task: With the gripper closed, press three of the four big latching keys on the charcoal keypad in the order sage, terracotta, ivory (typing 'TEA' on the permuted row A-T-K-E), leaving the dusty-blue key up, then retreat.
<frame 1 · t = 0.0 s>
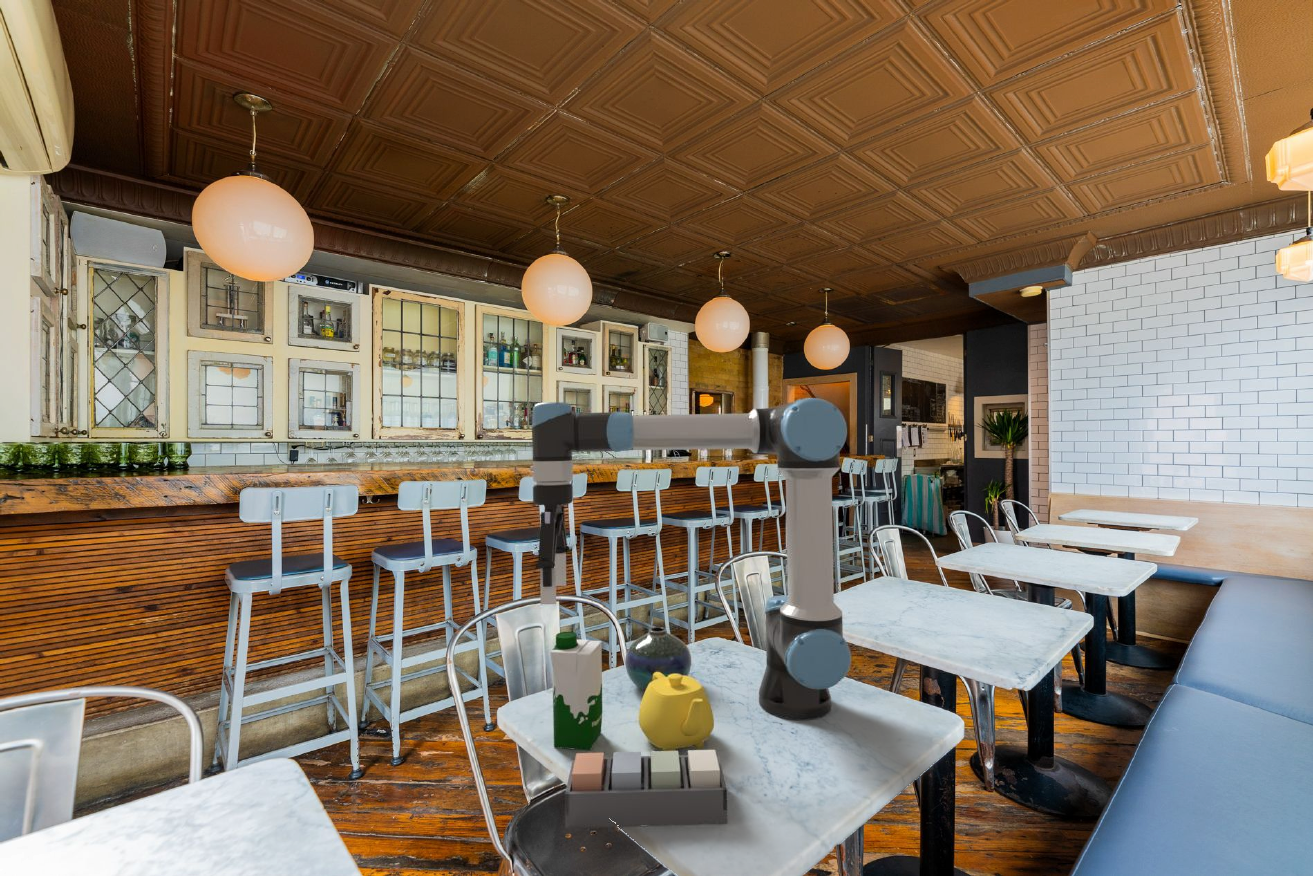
hand: (554, 594, 113), 28 cm above the table, fingers open, 13 cm apart
keypad base: (646, 805, 92), on the table
key A: (703, 769, 92), point 5 cm above the table, slide at 0.0 cm
key K: (626, 771, 92), point 5 cm above the table, slide at 0.0 cm
vase: (658, 687, 137), on the table
key T: (665, 770, 92), point 5 cm above the table, slide at 0.0 cm
key E: (588, 772, 92), point 5 cm above the table, slide at 0.0 cm
teapot: (678, 744, 111), on the table
milk carton: (578, 741, 113), on the table
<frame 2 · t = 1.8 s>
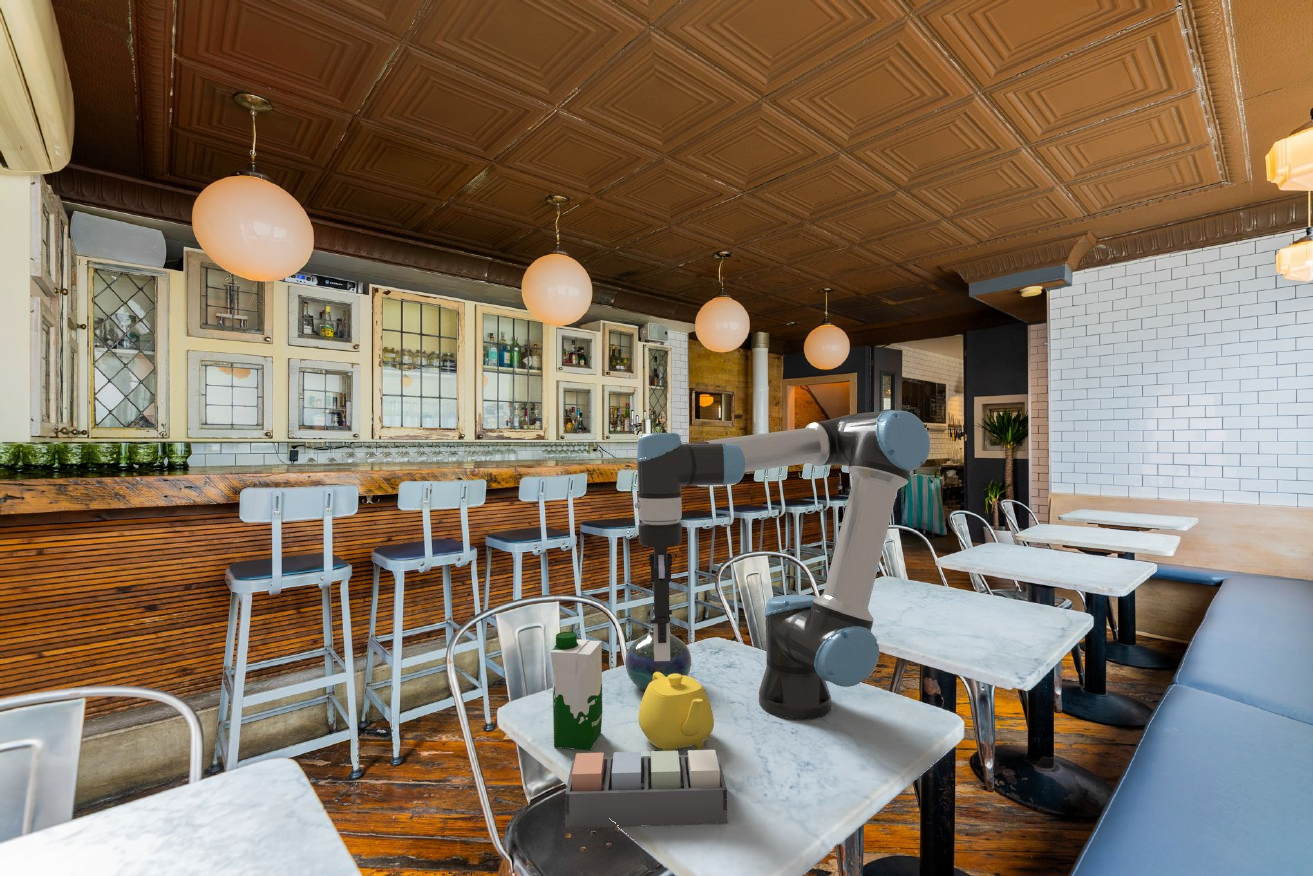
hand: (661, 656, 102), 20 cm above the table, fingers open, 3 cm apart
nothing on the table moved.
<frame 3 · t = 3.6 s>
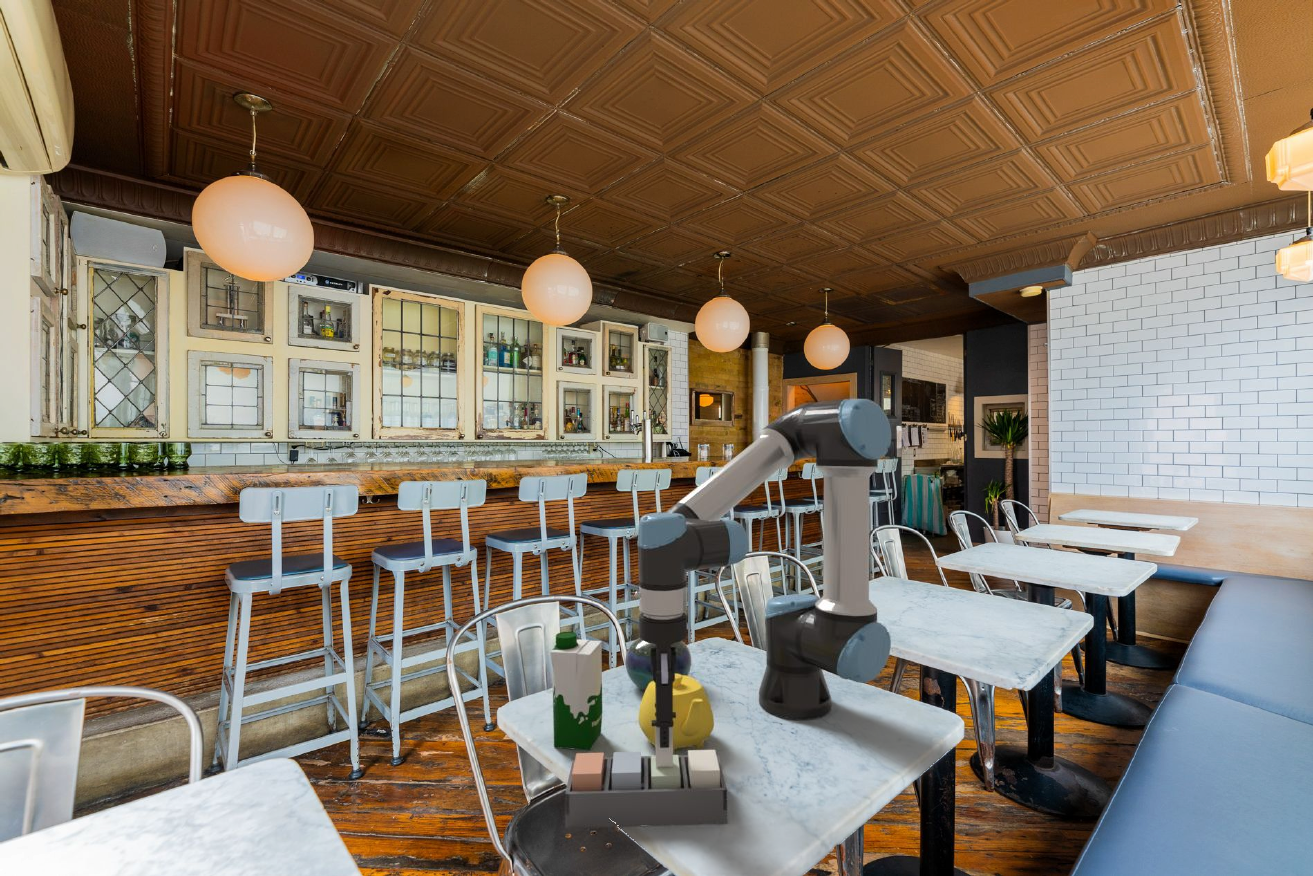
hand: (664, 763, 92), 6 cm above the table, fingers closed
key T: (665, 775, 92), point 5 cm above the table, slide at 0.7 cm, touching gripper
everything else where it was.
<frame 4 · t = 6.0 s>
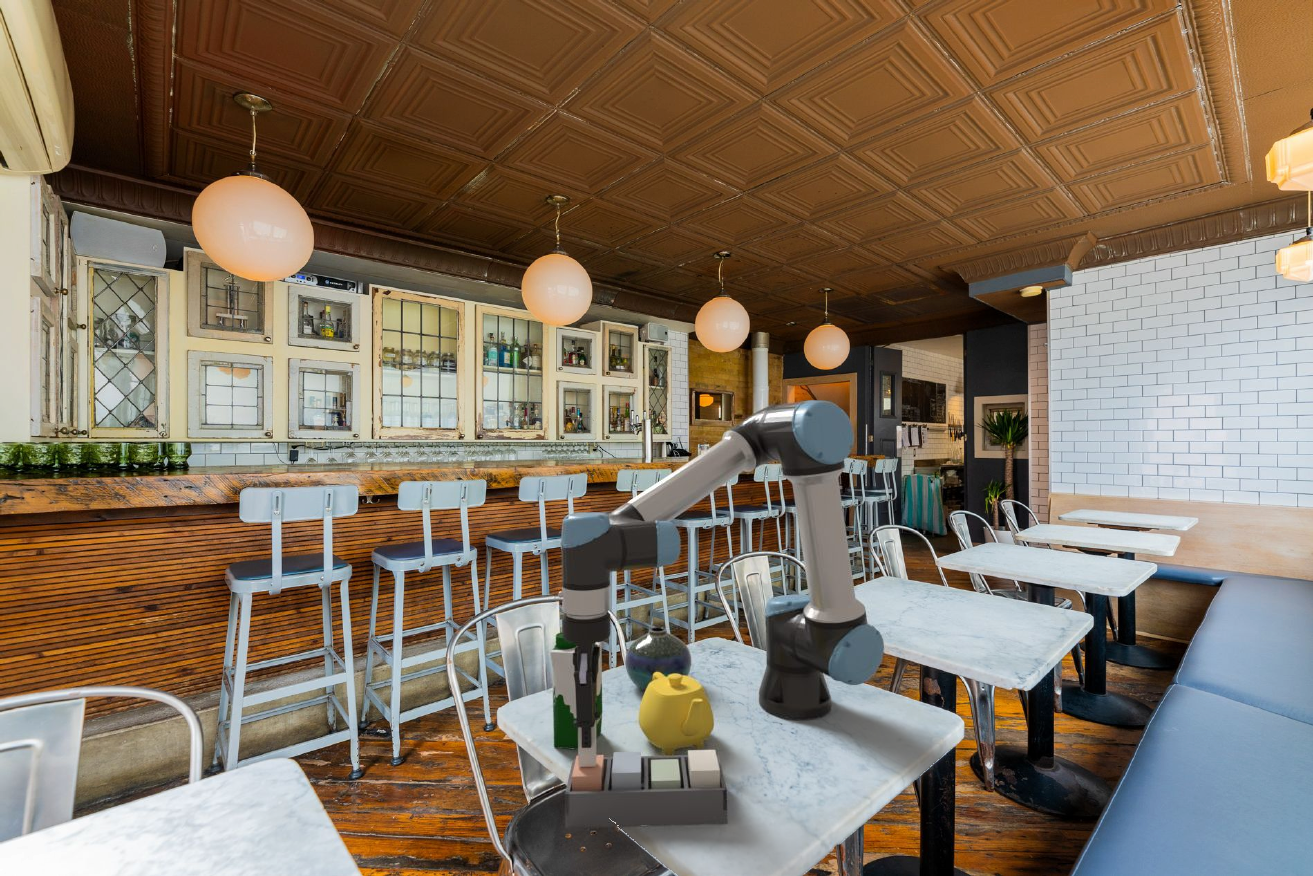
hand: (587, 764, 92), 7 cm above the table, fingers closed
key T: (665, 779, 92), point 4 cm above the table, slide at 1.4 cm
key E: (588, 775, 92), point 5 cm above the table, slide at 0.4 cm, touching gripper
everything else where it was.
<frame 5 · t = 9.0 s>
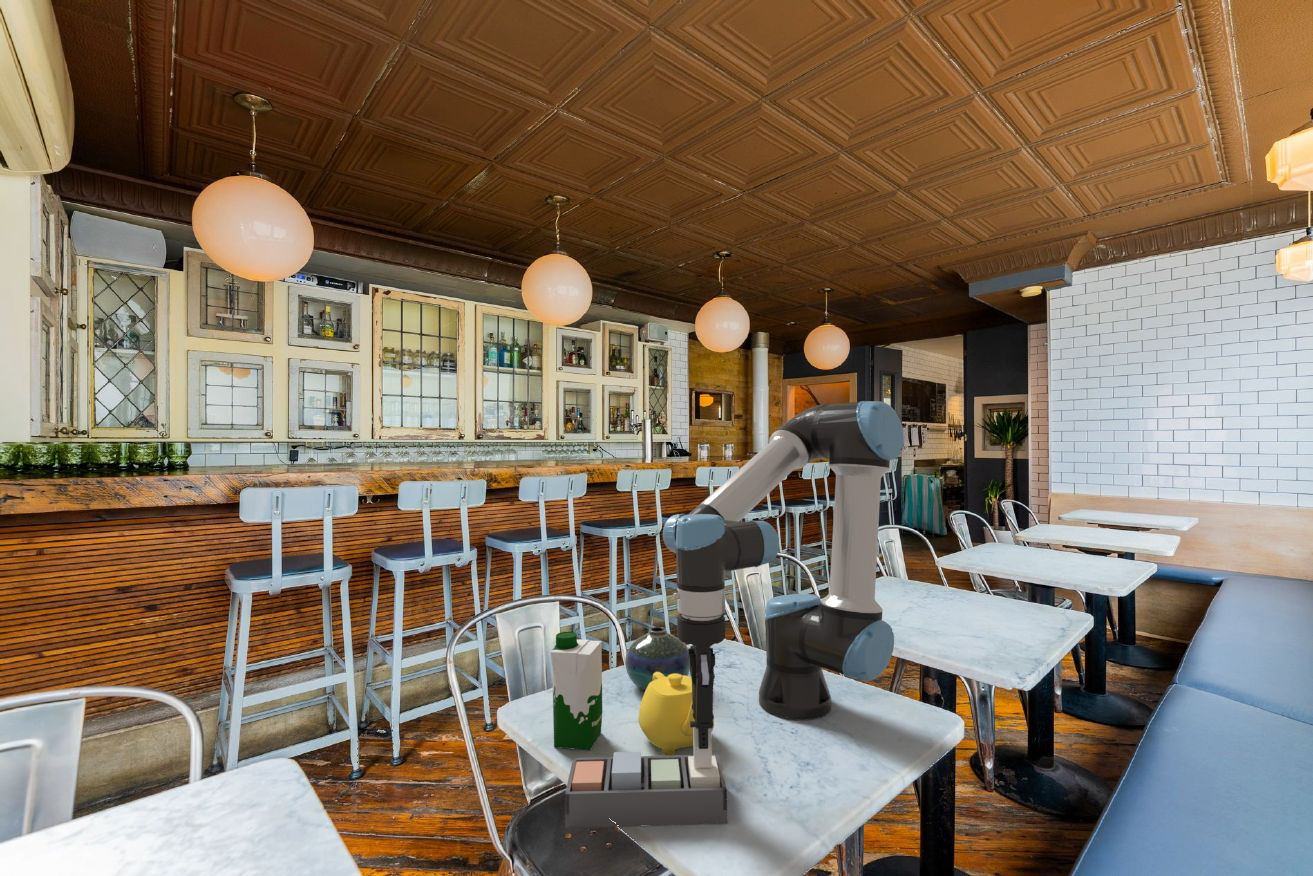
hand: (702, 765, 92), 6 cm above the table, fingers closed
key A: (703, 775, 92), point 4 cm above the table, slide at 1.0 cm, touching gripper
key E: (588, 781, 92), point 4 cm above the table, slide at 1.3 cm
everything else where it was.
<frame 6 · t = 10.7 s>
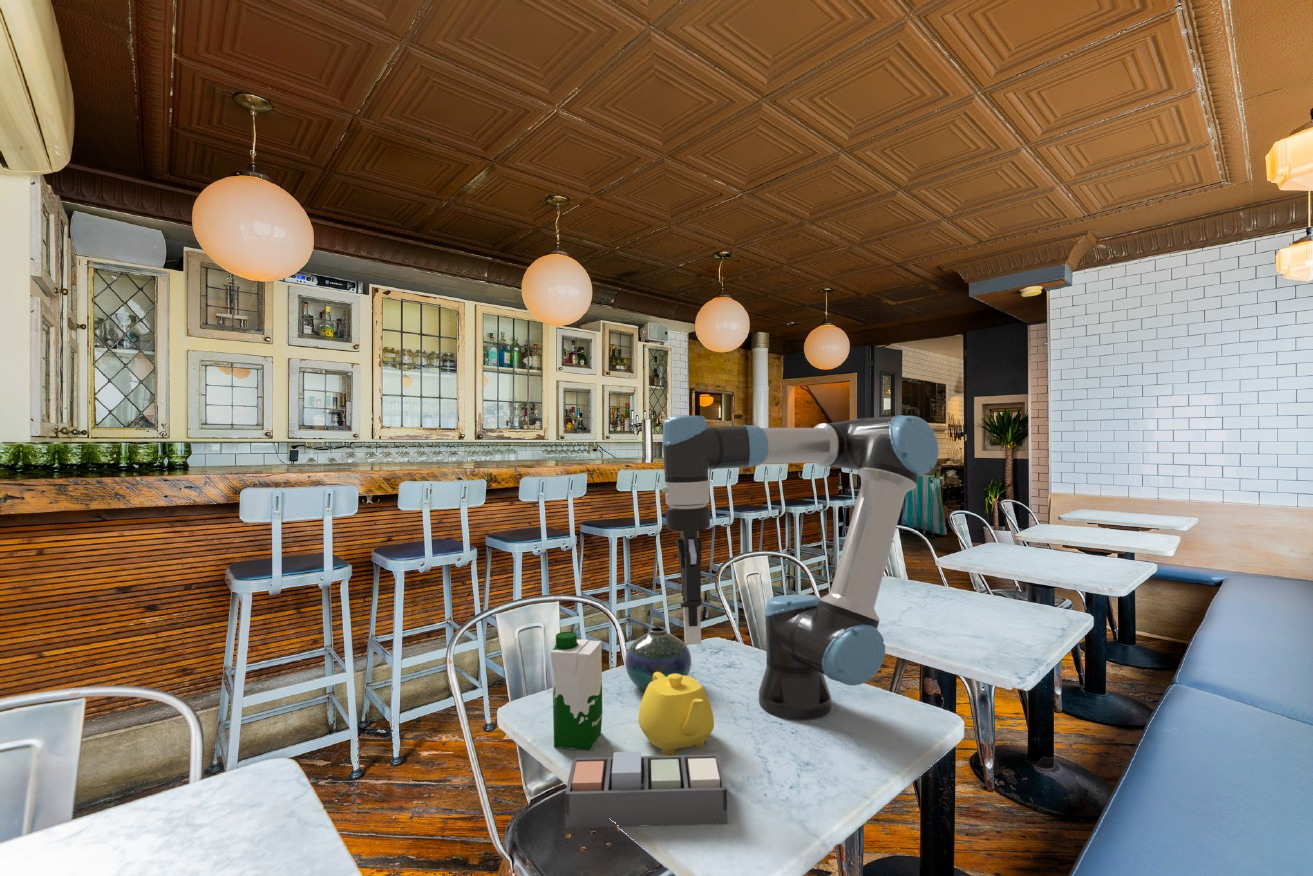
hand: (692, 642, 101), 22 cm above the table, fingers closed
key A: (703, 778, 92), point 4 cm above the table, slide at 1.4 cm
everything else where it was.
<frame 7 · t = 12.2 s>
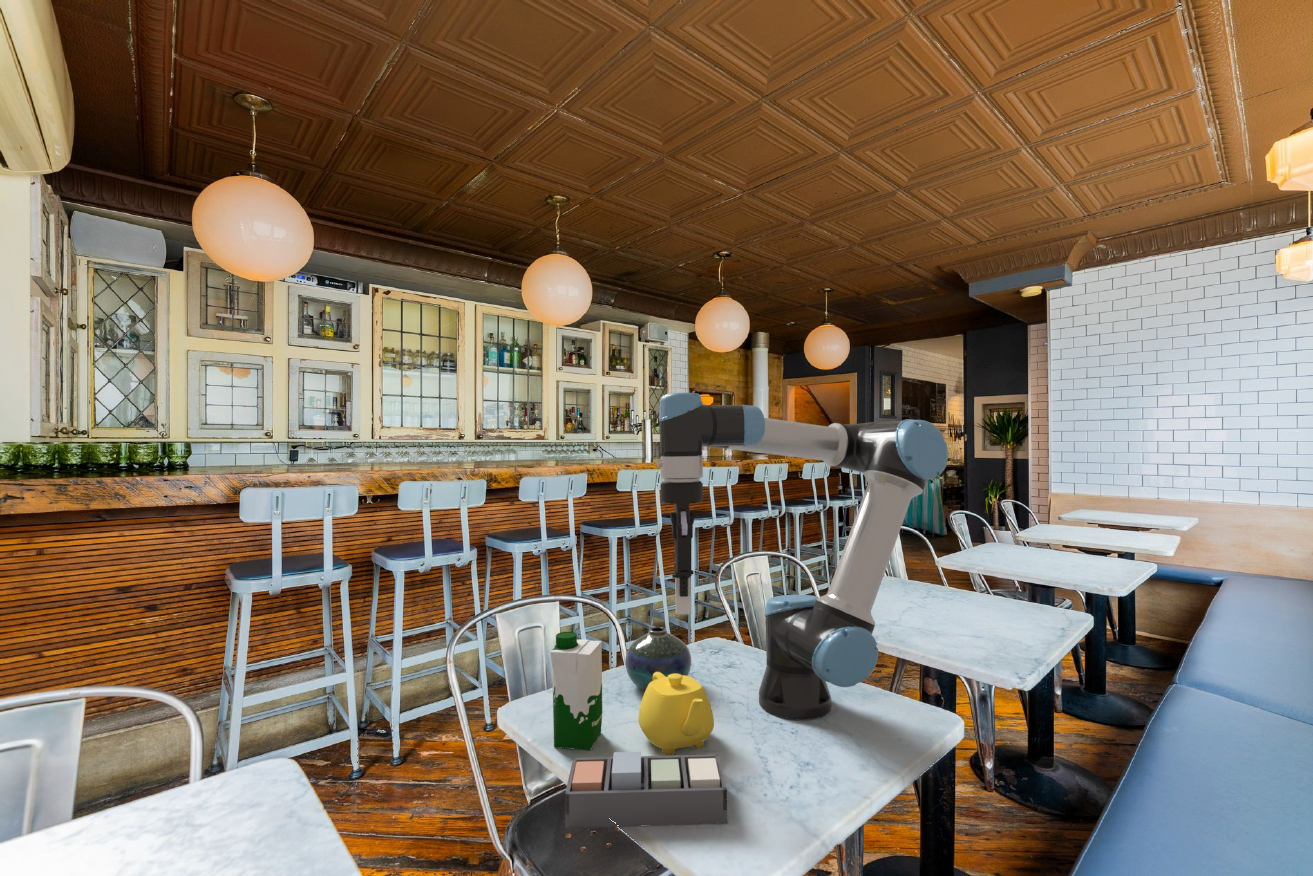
hand: (683, 613, 105), 26 cm above the table, fingers closed
nothing on the table moved.
at the end: key T slide at 1.4 cm; key E slide at 1.3 cm; key A slide at 1.4 cm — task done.
